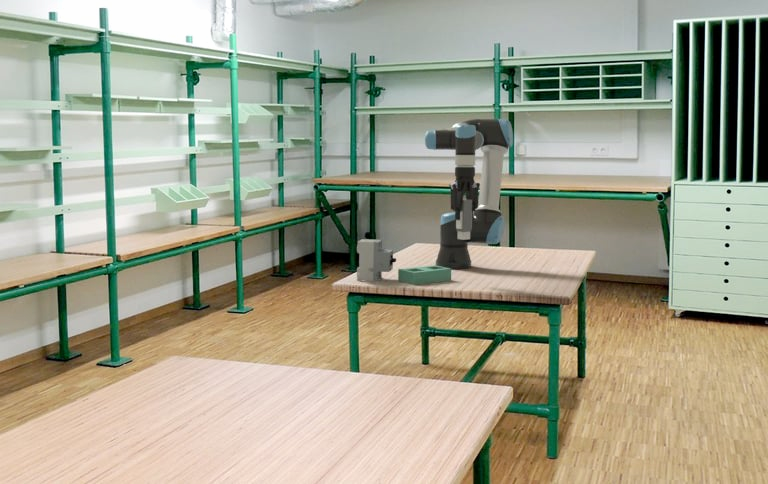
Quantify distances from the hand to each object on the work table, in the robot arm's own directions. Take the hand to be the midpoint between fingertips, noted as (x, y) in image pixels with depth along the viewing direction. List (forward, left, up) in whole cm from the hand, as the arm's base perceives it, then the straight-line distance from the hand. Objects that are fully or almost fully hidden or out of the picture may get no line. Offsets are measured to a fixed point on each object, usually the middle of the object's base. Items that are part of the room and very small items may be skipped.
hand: (463, 228), depth 326 cm
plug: (0, 0, -4) cm, 4 cm away
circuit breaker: (+25, -22, -21) cm, 39 cm away
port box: (+11, -10, -21) cm, 25 cm away
